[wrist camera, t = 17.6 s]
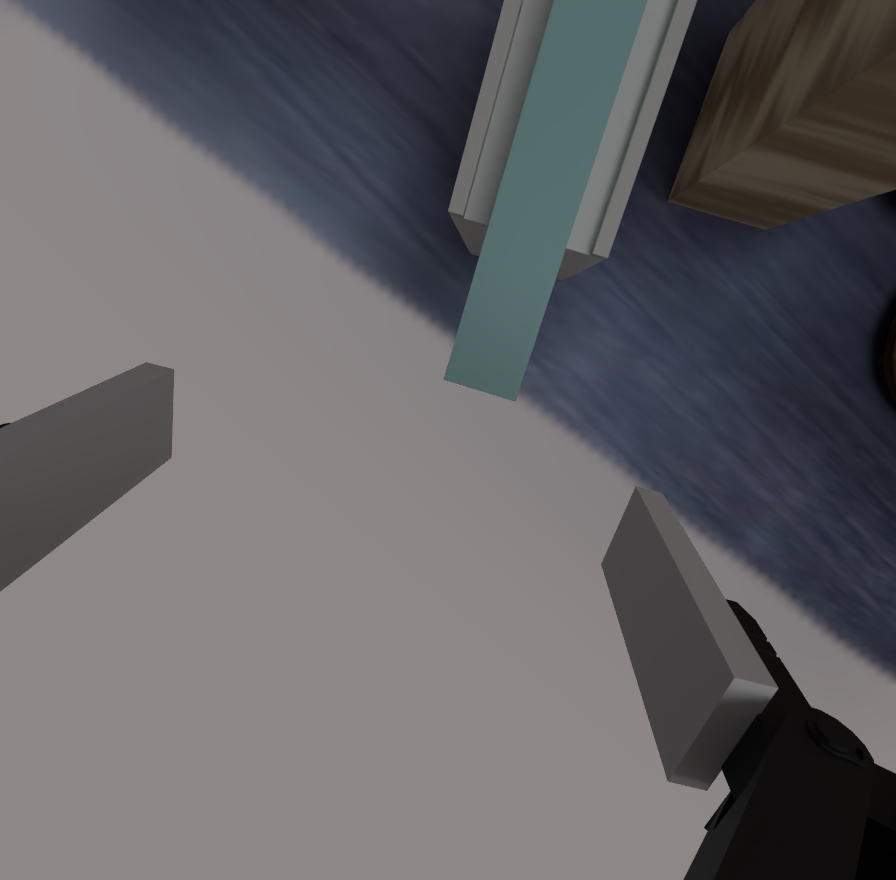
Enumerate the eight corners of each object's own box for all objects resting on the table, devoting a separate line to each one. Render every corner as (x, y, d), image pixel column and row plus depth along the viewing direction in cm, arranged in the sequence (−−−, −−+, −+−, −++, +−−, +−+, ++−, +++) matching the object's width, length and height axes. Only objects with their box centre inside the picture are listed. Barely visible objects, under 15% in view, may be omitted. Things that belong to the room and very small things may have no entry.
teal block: (513, 390, 28) (515, 401, 25) (450, 371, 28) (443, 379, 25) (674, -100, 23) (704, -172, 19) (595, -122, 23) (611, -198, 19)
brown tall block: (764, 230, 42) (1403, 32, 12) (667, 201, 43) (1064, -60, 13) (833, 62, 39) (1897, -730, 9) (728, 33, 40) (1442, -837, 10)
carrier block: (561, 280, 45) (607, 258, 26) (470, 253, 45) (448, 211, 26) (631, 70, 41) (747, -144, 22) (530, 41, 41) (556, -196, 22)
